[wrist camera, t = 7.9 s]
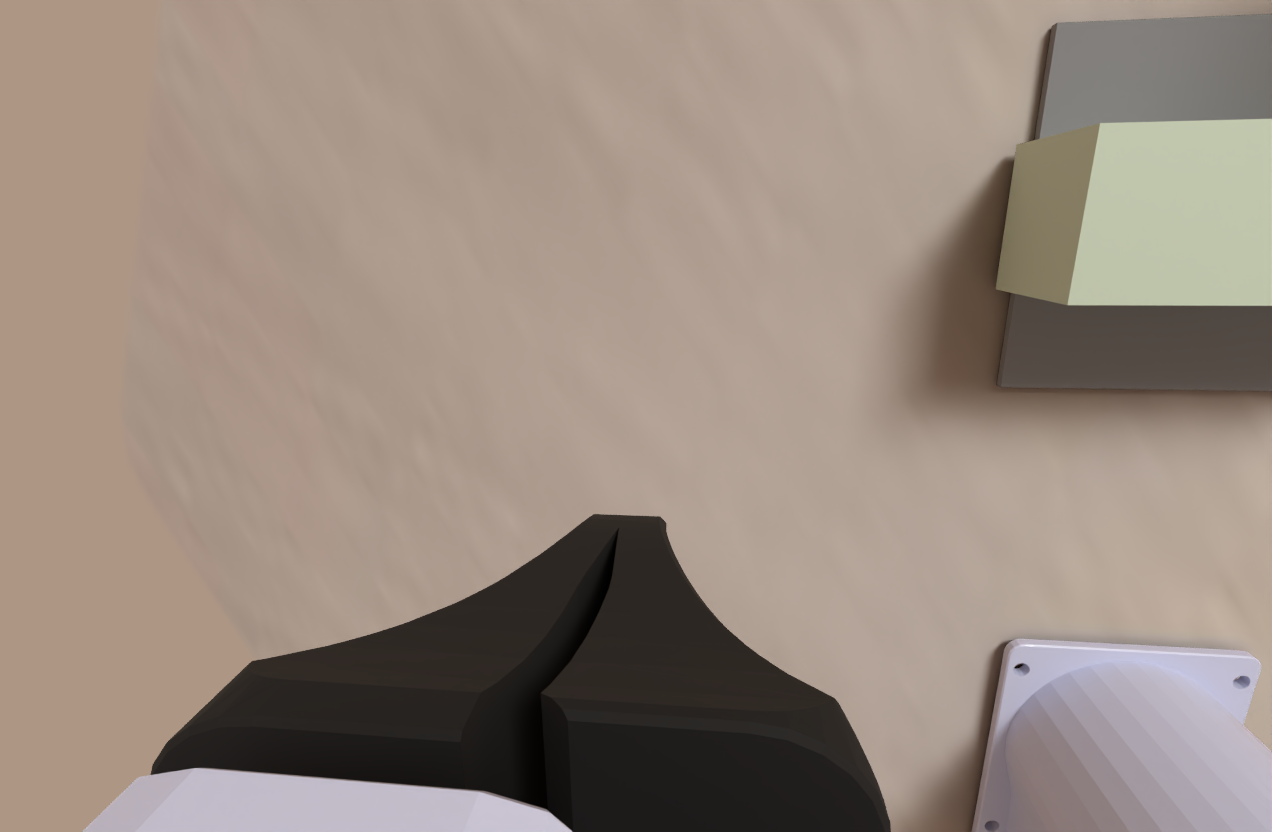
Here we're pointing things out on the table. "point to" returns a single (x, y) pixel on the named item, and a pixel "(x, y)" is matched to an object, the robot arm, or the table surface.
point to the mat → (1146, 92)
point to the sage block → (1143, 215)
